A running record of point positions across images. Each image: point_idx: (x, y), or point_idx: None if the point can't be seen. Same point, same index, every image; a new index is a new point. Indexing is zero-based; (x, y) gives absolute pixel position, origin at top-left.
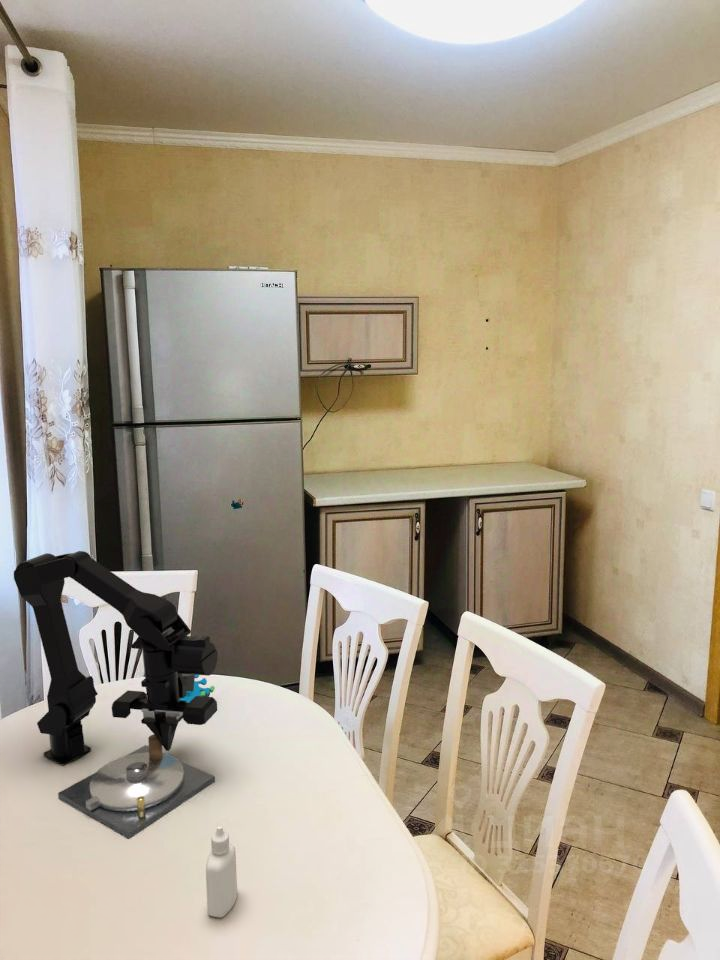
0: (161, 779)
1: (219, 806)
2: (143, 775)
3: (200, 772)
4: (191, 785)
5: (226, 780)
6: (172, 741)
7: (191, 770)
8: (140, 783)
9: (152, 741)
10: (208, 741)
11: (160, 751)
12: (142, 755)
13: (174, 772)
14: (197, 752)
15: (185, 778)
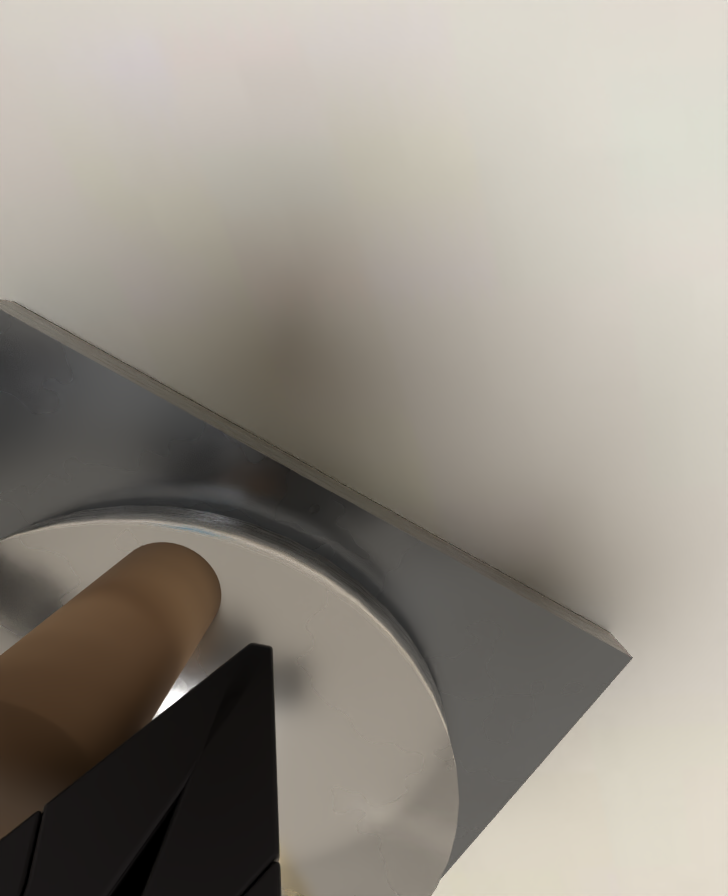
0: (327, 824)
1: (661, 812)
2: None
3: (530, 625)
4: (503, 746)
5: (679, 617)
6: (273, 705)
7: (463, 605)
8: None
9: None
10: (470, 120)
11: (187, 660)
12: (44, 574)
13: (388, 757)
14: (420, 309)
15: (447, 685)
